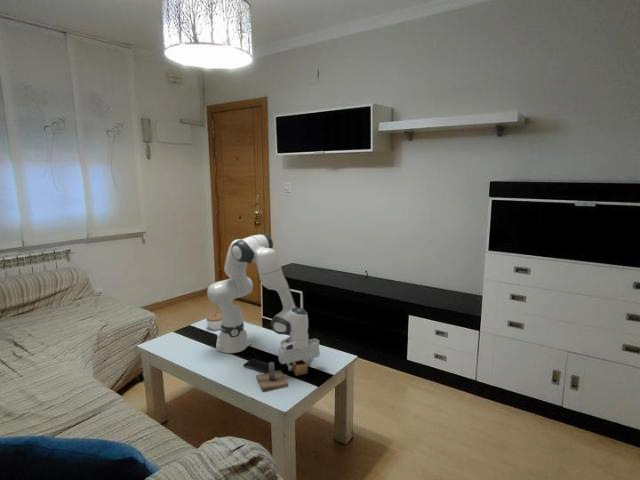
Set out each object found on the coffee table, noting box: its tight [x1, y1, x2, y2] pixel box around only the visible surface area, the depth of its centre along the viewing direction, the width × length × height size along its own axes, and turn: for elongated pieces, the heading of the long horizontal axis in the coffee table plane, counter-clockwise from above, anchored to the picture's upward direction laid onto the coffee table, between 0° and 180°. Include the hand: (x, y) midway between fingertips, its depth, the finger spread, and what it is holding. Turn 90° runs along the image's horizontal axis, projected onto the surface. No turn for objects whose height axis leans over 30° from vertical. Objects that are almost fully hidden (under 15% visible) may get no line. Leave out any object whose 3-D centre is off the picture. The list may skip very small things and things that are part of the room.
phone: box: [242, 358, 276, 374], centre depth 196 cm, size 8×1×15 cm
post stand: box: [255, 361, 289, 393], centre depth 181 cm, size 12×12×10 cm
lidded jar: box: [206, 312, 222, 331], centre depth 241 cm, size 11×11×9 cm
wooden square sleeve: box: [291, 359, 309, 377], centre depth 191 cm, size 6×6×5 cm
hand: (299, 367), depth 191 cm, fingers open, 8 cm apart
